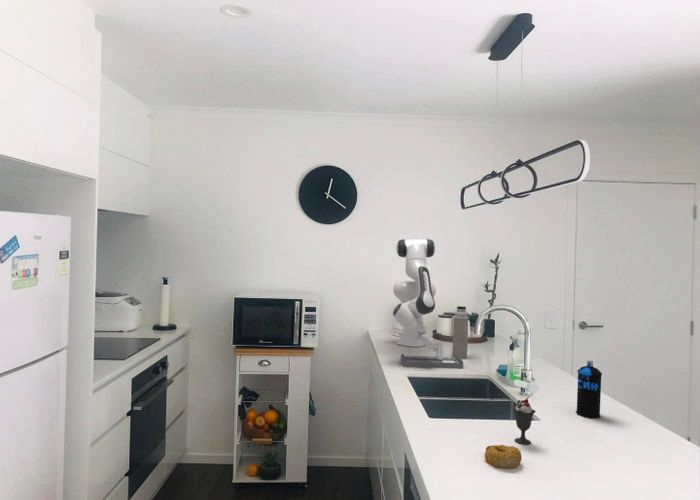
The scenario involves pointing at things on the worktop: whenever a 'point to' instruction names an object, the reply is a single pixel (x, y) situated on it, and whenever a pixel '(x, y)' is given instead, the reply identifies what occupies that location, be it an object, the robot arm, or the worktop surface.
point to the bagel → (503, 456)
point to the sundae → (523, 419)
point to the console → (431, 362)
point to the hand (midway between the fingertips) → (435, 350)
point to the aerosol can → (589, 391)
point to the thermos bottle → (460, 333)
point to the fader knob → (439, 350)
